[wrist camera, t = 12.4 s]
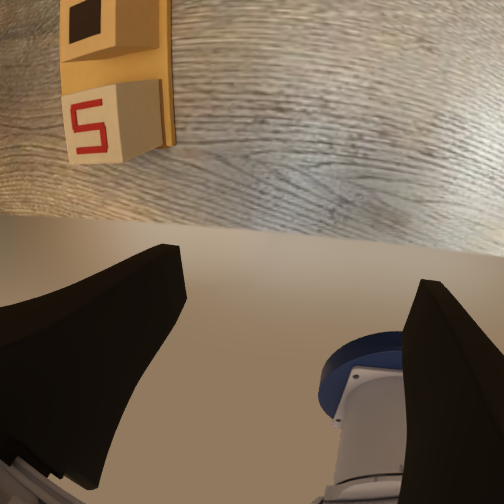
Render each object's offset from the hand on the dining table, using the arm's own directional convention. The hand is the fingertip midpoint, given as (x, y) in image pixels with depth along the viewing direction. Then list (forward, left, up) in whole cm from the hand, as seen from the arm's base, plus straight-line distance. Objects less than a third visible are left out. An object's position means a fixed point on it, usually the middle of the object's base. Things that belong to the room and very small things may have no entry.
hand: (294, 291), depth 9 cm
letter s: (+4, +11, -9) cm, 15 cm away
